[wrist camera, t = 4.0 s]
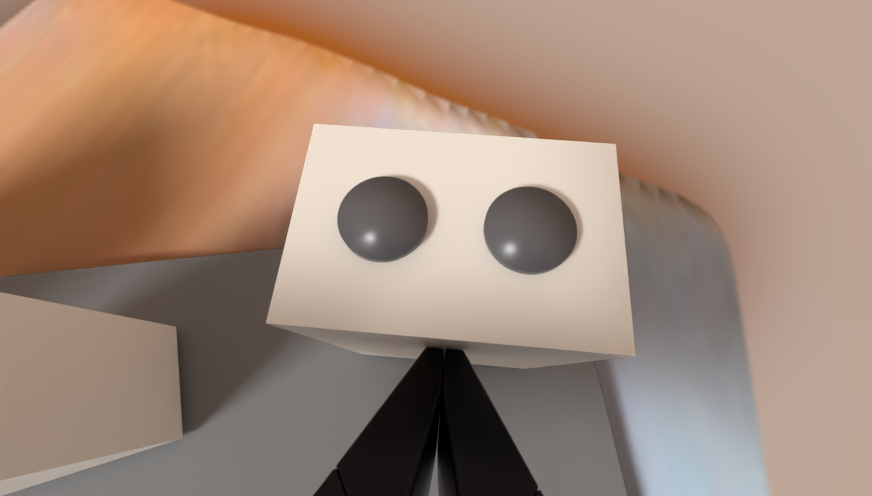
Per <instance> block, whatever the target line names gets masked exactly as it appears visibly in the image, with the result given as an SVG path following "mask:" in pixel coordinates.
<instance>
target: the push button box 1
mask: <svg viewBox="0 0 872 496" xmlns="http://www.w3.org/2000/svg"><path fill="white" fill-rule="evenodd" d="M182 438H183V432H182V415H181V399H180V382H179V365H178V348H177V332H176V327H175V326H170V325H165V324H160V323H155V322H150V321H145V320H140V319H134V318H129V317H124V316H119V315H114V314H109V313H104V312H99V311H94V310H89V309H84V308H78V307H73V306H68V305H63V304H58V303H53V302H48V301H43V300H38V299H33V298H28V297H23V296H17V295H12V294H7V293H2V292H0V496H3V495H6V494H10V493H13V492H16V491H19V490H22V489H25V488H28V487H31V486H35V485H38V484H41V483H44V482H47V481H50V480H53V479H57V478H60V477H63V476H66V475H69V474H72V473H75V472H78V471H82V470H85V469H88V468H91V467H94V466H97V465H100V464H103V463H107V462H110V461H113V460H116V459H119V458H122V457H125V456H129V455H132V454H135V453H138V452H141V451H144V450H147V449H150V448H154V447H157V446H160V445H163V444H166V443H169V442H172V441H175V440H179V439H182Z"/></svg>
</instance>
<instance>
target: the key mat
mask: <svg viewBox="0 0 872 496" xmlns="http://www.w3.org/2000/svg"><path fill="white" fill-rule="evenodd" d="M283 250H284V248H279V249H269V250H259V251H249V252H240V253H230V254H220V255H210V256H200V257H190V258H180V259H170V260H161V261H151V262H141V263H131V264H121V265H111V266H101V267H91V268H81V269H72V270H62V271H52V272H42V273H32V274H22V275H12V276H2V277H0V292H2V293H7V294H12V295H17V296H23V297H28V298H33V299H38V300H43V301H48V302H53V303H58V304H63V305H68V306H73V307H78V308H84V309H89V310H94V311H99V312H104V313H109V314H114V315H119V316H124V317H129V318H134V319H140V320H145V321H150V322H155V323H160V324H165V325H170V326H175V327H176V332H177V348H178V365H179V382H180V399H181V415H182V432H183V438H182V439H179V440H175V441H172V442H169V443H166V444H163V445H160V446H157V447H154V448H150V449H147V450H144V451H141V452H138V453H135V454H132V455H129V456H125V457H122V458H119V459H116V460H113V461H110V462H107V463H103V464H100V465H97V466H94V467H91V468H88V469H85V470H82V471H78V472H75V473H72V474H69V475H66V476H63V477H60V478H57V479H53V480H50V481H47V482H44V483H41V484H38V485H35V486H31V487H28V488H25V489H22V490H19V491H16V492H13V493H10V494H6V495H3V496H313V495H314V493H315V492H316V491H317V490H318V488H319V487H320V486H321V484H322V483H323V482H324V480H325V479H326V478H327V477H328V475H329V474H330V473H331V471H332V470H333V469H336V465H337V464H338V462H339V461H340V460H341V458H342V457H343V456H344V454H345V453H346V452H347V450H348V449H349V448H350V446H351V445H352V444H353V443H354V441H355V440H356V439H357V437H358V436H359V435H360V433H361V432H362V431H363V429H364V428H365V427H366V425H367V424H368V423H369V421H370V420H371V419H372V417H373V416H374V415H375V414H376V412H377V411H378V410H379V408H380V407H381V406H382V404H383V403H384V402H385V400H386V399H387V398H388V396H389V395H390V394H391V392H392V391H393V390H394V388H395V387H396V386H397V384H398V383H399V382H400V381H401V379H402V378H403V377H404V375H405V374H406V373H407V371H408V370H409V369H410V367H411V366H412V365H413V363H414V362H415V361H416V359H411V358H400V357H389V356H379V355H368V354H361V353H358V352H355V351H352V350H348V349H345V348H342V347H339V346H336V345H333V344H330V343H326V342H323V341H320V340H317V339H314V338H311V337H307V336H304V335H301V334H298V333H295V332H292V331H289V330H285V329H282V328H279V327H276V326H273V325H270V324H266V320H267V316H268V312H269V308H270V304H271V299H272V295H273V291H274V287H275V283H276V279H277V275H278V271H279V267H280V263H281V258H282V254H283ZM471 365H472V366H473V368H474V370H475V372H476V374H477V376H478V377H479V379H480V381H481V383H482V385H483V386H484V388H485V390H486V392H487V394H488V395H489V397H490V399H491V401H492V403H493V405H494V406H495V408H496V410H497V412H498V414H499V415H500V417H501V419H502V421H503V423H504V425H505V426H506V428H507V430H508V432H509V434H510V435H511V437H512V439H513V441H514V443H515V445H516V446H517V448H518V450H519V452H520V454H521V455H522V457H523V459H524V461H525V463H526V464H527V466H528V468H529V470H530V472H531V474H532V475H533V477H534V479H535V481H536V483H537V484H538V490H541V491H542V493H543V495H544V496H627V493H626V489H625V484H624V480H623V476H622V472H621V468H620V464H619V460H618V456H617V451H616V447H615V443H614V439H613V435H612V431H611V427H610V423H609V418H608V414H607V410H606V406H605V402H604V398H603V394H602V390H601V385H600V381H599V377H598V373H597V369H596V365H595V361H589V362H580V363H571V364H563V365H554V366H545V367H536V368H528V369H521V368H510V367H499V366H488V365H477V364H471ZM438 431H439V429H438ZM437 445H438V441H437ZM429 496H438V473H437V451H436V458H435V464H434V470H433V475H432V480H431V486H430V491H429Z"/></svg>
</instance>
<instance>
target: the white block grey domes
mask: <svg viewBox="0 0 872 496" xmlns="http://www.w3.org/2000/svg"><path fill="white" fill-rule="evenodd" d="M266 324H270V325H273V326H276V327H279V328H282V329H285V330H289V331H292V332H295V333H298V334H301V335H304V336H307V337H311V338H314V339H317V340H320V341H323V342H326V343H330V344H333V345H336V346H339V347H342V348H345V349H348V350H352V351H355V352H358V353H361V354H368V355H379V356H389V357H400V358H411V359H417V358H418V357H419V355H420V354H421V353H422V352H423V350H424V349H425V348H426V347H431V348H442V349H444V353H445V350H446V349H453V350H463V351H464V352H465V354H466V356H467V357H468V359H469V361H470V363H471V364H477V365H488V366H499V367H510V368H521V369H528V368H536V367H545V366H554V365H563V364H571V363H580V362H589V361H597V360H606V359H615V358H624V357H632V356H636V353H635V342H634V332H633V321H632V311H631V300H630V290H629V279H628V268H627V258H626V247H625V237H624V226H623V216H622V205H621V195H620V184H619V174H618V164H617V152H616V144H609V143H594V142H579V141H564V140H549V139H534V138H519V137H504V136H489V135H474V134H459V133H443V132H428V131H413V130H398V129H383V128H368V127H353V126H338V125H323V124H314V127H313V131H312V135H311V139H310V144H309V148H308V152H307V156H306V160H305V164H304V168H303V172H302V176H301V180H300V185H299V189H298V193H297V197H296V201H295V205H294V209H293V213H292V217H291V222H290V226H289V230H288V234H287V238H286V242H285V246H284V250H283V254H282V258H281V263H280V267H279V271H278V275H277V279H276V283H275V287H274V291H273V295H272V299H271V304H270V308H269V312H268V316H267V320H266Z"/></svg>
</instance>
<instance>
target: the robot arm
mask: <svg viewBox="0 0 872 496" xmlns="http://www.w3.org/2000/svg"><path fill="white" fill-rule="evenodd" d="M438 429H439V431H438ZM437 441H438V445H437ZM436 451H437V473H438V496H544V495H543V493H542V491H541V490H538V484H537V483H536V481H535V479H534V477H533V475H532V474H531V472H530V470H529V468H528V466H527V464H526V463H525V461H524V459H523V457H522V455H521V454H520V452H519V450H518V448H517V446H516V445H515V443H514V441H513V439H512V437H511V435H510V434H509V432H508V430H507V428H506V426H505V425H504V423H503V421H502V419H501V417H500V415H499V414H498V412H497V410H496V408H495V406H494V405H493V403H492V401H491V399H490V397H489V395H488V394H487V392H486V390H485V388H484V386H483V385H482V383H481V381H480V379H479V377H478V376H477V374H476V372H475V370H474V368H473V366H472V365H471V363H470V361H469V359H468V357H467V356H466V354H465V352H464V351H463V350H453V349H446V350H445V353H444V349H442V348H431V347H426V348H425V349H424V350H423V352H422V353H421V354H420V355H419V357H418V358H417V359H416V361H415V362H414V363H413V365H412V366H411V367H410V369H409V370H408V371H407V373H406V374H405V375H404V377H403V378H402V379H401V381H400V382H399V383H398V384H397V386H396V387H395V388H394V390H393V391H392V392H391V394H390V395H389V396H388V398H387V399H386V400H385V402H384V403H383V404H382V406H381V407H380V408H379V410H378V411H377V412H376V414H375V415H374V416H373V417H372V419H371V420H370V421H369V423H368V424H367V425H366V427H365V428H364V429H363V431H362V432H361V433H360V435H359V436H358V437H357V439H356V440H355V441H354V443H353V444H352V445H351V446H350V448H349V449H348V450H347V452H346V453H345V454H344V456H343V457H342V458H341V460H340V461H339V462H338V464H337V465H336V469H333V470H332V471H331V473H330V474H329V475H328V477H327V478H326V479H325V480H324V482H323V483H322V484H321V486H320V487H319V488H318V490H317V491H316V492H315V493H314V495H313V496H429V491H430V486H431V480H432V475H433V470H434V464H435V458H436Z"/></svg>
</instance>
